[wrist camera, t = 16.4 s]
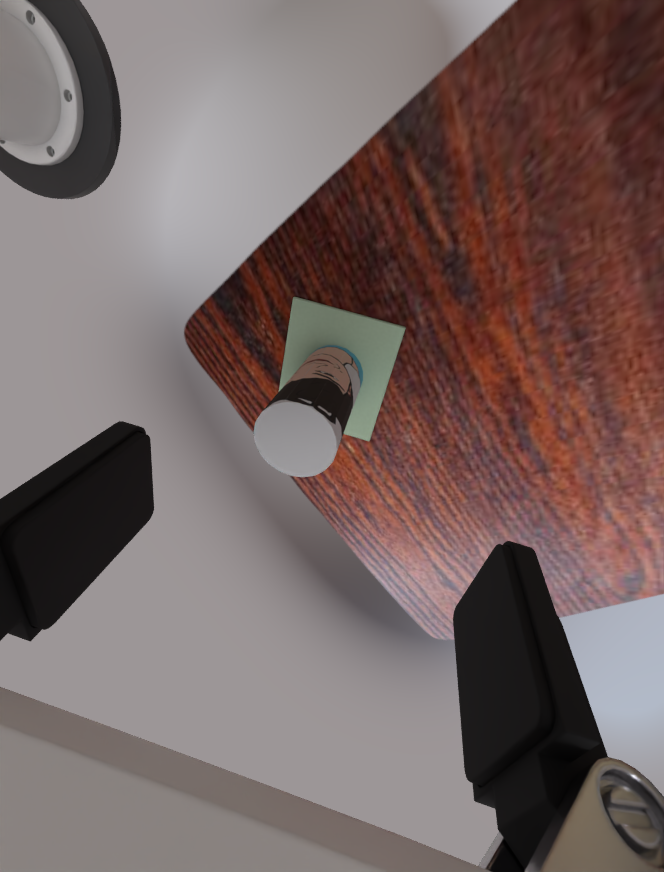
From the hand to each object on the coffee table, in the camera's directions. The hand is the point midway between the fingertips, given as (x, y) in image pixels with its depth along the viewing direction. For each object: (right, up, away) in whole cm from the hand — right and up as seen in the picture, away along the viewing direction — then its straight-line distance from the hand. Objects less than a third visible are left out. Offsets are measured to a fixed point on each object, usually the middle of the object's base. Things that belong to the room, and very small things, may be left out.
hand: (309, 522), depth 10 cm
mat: (+1, +9, +32) cm, 34 cm away
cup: (+1, +9, +32) cm, 33 cm away
